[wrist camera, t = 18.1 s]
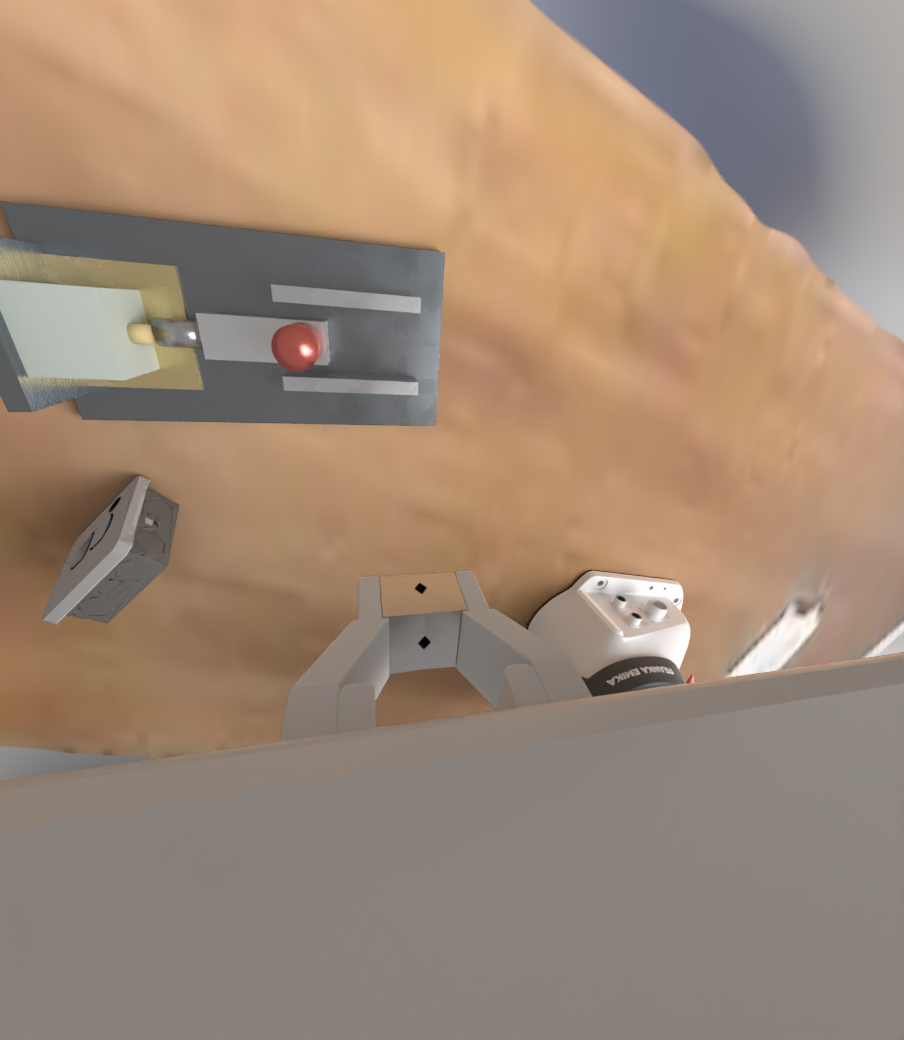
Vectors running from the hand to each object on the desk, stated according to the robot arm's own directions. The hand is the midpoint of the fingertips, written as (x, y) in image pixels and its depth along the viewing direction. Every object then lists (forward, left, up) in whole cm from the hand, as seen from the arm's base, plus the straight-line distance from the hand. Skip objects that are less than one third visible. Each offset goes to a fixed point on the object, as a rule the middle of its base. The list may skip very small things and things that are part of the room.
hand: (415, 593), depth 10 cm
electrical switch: (+21, +12, -27) cm, 36 cm away
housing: (+18, -4, -26) cm, 32 cm away
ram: (+9, -4, -26) cm, 28 cm away
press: (+8, -4, -27) cm, 29 cm away
